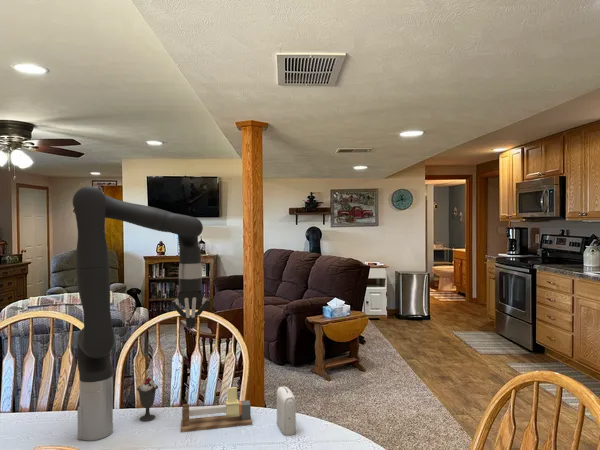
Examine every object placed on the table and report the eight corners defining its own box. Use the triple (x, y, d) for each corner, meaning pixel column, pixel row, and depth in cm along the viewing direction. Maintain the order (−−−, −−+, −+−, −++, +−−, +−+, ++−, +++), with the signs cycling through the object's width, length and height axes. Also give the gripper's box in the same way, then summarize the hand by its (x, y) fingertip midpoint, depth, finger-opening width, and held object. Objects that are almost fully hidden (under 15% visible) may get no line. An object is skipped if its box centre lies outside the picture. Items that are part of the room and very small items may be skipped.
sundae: (144, 424, 142) (144, 377, 142) (132, 419, 146) (132, 373, 146) (162, 417, 147) (162, 372, 147) (150, 412, 151) (150, 368, 151)
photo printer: (297, 434, 134) (297, 393, 134) (283, 436, 133) (283, 395, 133) (288, 420, 144) (287, 382, 144) (275, 422, 143) (275, 383, 143)
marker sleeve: (226, 417, 141) (226, 390, 141) (225, 412, 145) (225, 386, 145) (239, 416, 142) (238, 389, 142) (238, 411, 146) (237, 385, 146)
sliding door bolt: (184, 426, 138) (183, 410, 138) (184, 421, 142) (184, 405, 142) (250, 419, 143) (250, 403, 143) (249, 414, 146) (249, 399, 146)
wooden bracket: (180, 432, 136) (180, 411, 136) (181, 422, 143) (181, 402, 143) (252, 424, 141) (252, 404, 141) (249, 415, 148) (249, 396, 148)
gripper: (169, 278, 144) (169, 332, 144) (210, 277, 147) (211, 329, 147) (170, 276, 151) (170, 327, 151) (210, 275, 154) (210, 325, 154)
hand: (190, 328), depth 149 cm, fingers closed
